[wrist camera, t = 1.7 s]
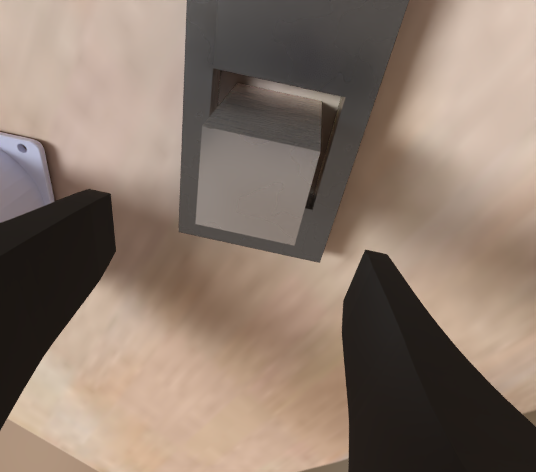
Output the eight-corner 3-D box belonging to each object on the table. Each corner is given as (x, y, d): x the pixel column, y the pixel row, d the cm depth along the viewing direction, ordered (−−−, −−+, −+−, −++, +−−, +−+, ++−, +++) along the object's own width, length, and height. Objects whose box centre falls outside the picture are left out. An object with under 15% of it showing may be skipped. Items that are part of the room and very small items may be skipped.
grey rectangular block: (228, 161, 19) (195, 224, 14) (237, 82, 17) (202, 126, 12) (302, 177, 19) (294, 245, 14) (322, 101, 17) (320, 151, 12)
